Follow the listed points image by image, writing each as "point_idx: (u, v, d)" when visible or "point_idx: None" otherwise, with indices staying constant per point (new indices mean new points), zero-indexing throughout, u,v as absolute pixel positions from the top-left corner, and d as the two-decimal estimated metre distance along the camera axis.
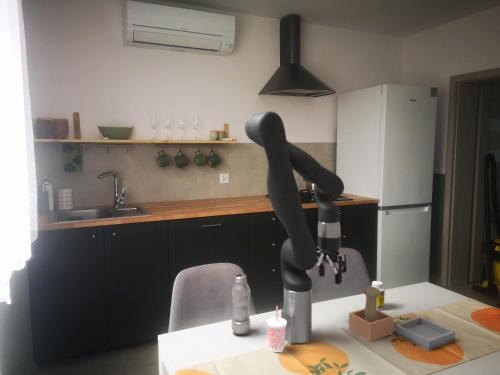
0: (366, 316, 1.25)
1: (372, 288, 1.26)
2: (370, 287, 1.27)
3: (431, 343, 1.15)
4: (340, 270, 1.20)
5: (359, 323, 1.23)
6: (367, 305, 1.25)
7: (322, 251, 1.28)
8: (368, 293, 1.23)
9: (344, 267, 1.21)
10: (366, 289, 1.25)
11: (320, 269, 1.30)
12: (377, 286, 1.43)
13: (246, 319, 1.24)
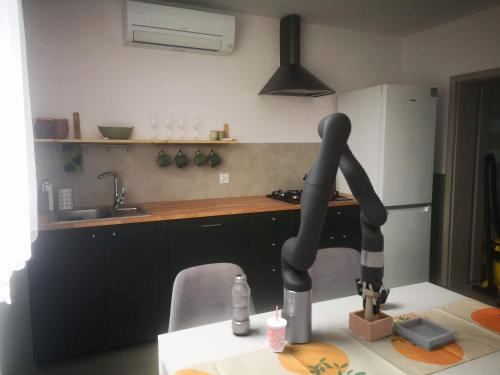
0: (366, 316, 1.25)
1: None
2: None
3: (431, 343, 1.15)
4: (379, 301, 1.21)
5: (359, 323, 1.23)
6: (367, 305, 1.25)
7: (364, 278, 1.26)
8: (368, 293, 1.23)
9: (384, 299, 1.21)
10: (366, 289, 1.25)
11: (365, 302, 1.27)
12: None
13: (246, 319, 1.24)
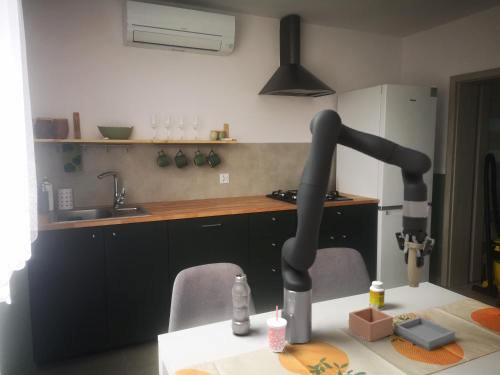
0: (409, 270, 1.21)
1: None
2: None
3: (431, 343, 1.15)
4: (424, 252, 1.17)
5: (359, 323, 1.23)
6: (410, 258, 1.21)
7: (406, 231, 1.22)
8: (412, 245, 1.19)
9: (429, 250, 1.17)
10: (409, 242, 1.21)
11: (407, 256, 1.23)
12: (377, 286, 1.43)
13: (246, 319, 1.24)
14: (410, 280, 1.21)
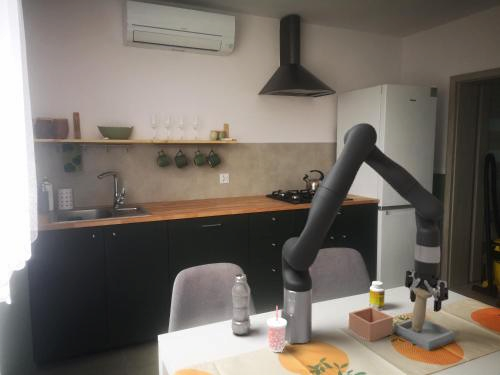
0: (414, 315, 1.23)
1: (423, 288, 1.22)
2: None
3: (431, 343, 1.15)
4: (442, 297, 1.15)
5: (359, 323, 1.23)
6: (417, 305, 1.22)
7: (417, 276, 1.22)
8: (420, 294, 1.20)
9: (446, 294, 1.16)
10: (417, 289, 1.22)
11: (413, 294, 1.25)
12: (377, 286, 1.43)
13: (246, 319, 1.24)
14: (414, 325, 1.24)
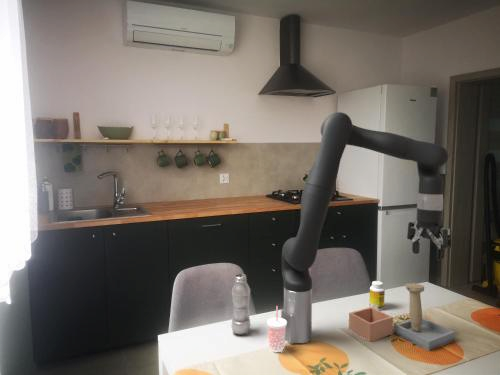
0: (411, 313, 1.24)
1: (415, 285, 1.26)
2: (412, 284, 1.27)
3: (431, 343, 1.15)
4: (445, 244, 1.13)
5: (359, 323, 1.23)
6: (411, 302, 1.24)
7: (420, 226, 1.21)
8: (412, 288, 1.23)
9: (449, 242, 1.14)
10: (409, 285, 1.25)
11: (415, 246, 1.23)
12: (377, 286, 1.43)
13: (246, 319, 1.24)
14: (413, 324, 1.24)
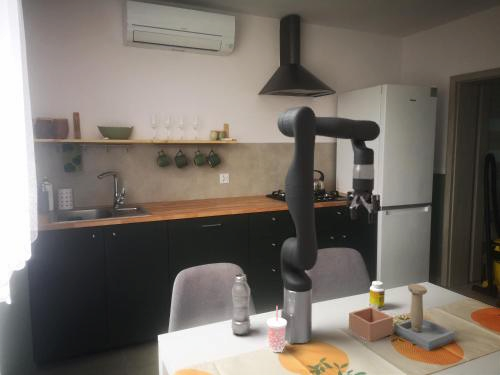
0: (412, 314, 1.24)
1: (418, 286, 1.25)
2: (415, 285, 1.26)
3: (431, 343, 1.15)
4: (374, 208, 1.28)
5: (359, 323, 1.23)
6: (413, 303, 1.24)
7: (355, 194, 1.36)
8: (415, 291, 1.22)
9: (378, 206, 1.29)
10: (412, 287, 1.24)
11: (353, 212, 1.38)
12: (377, 286, 1.43)
13: (246, 319, 1.24)
14: (413, 324, 1.24)
